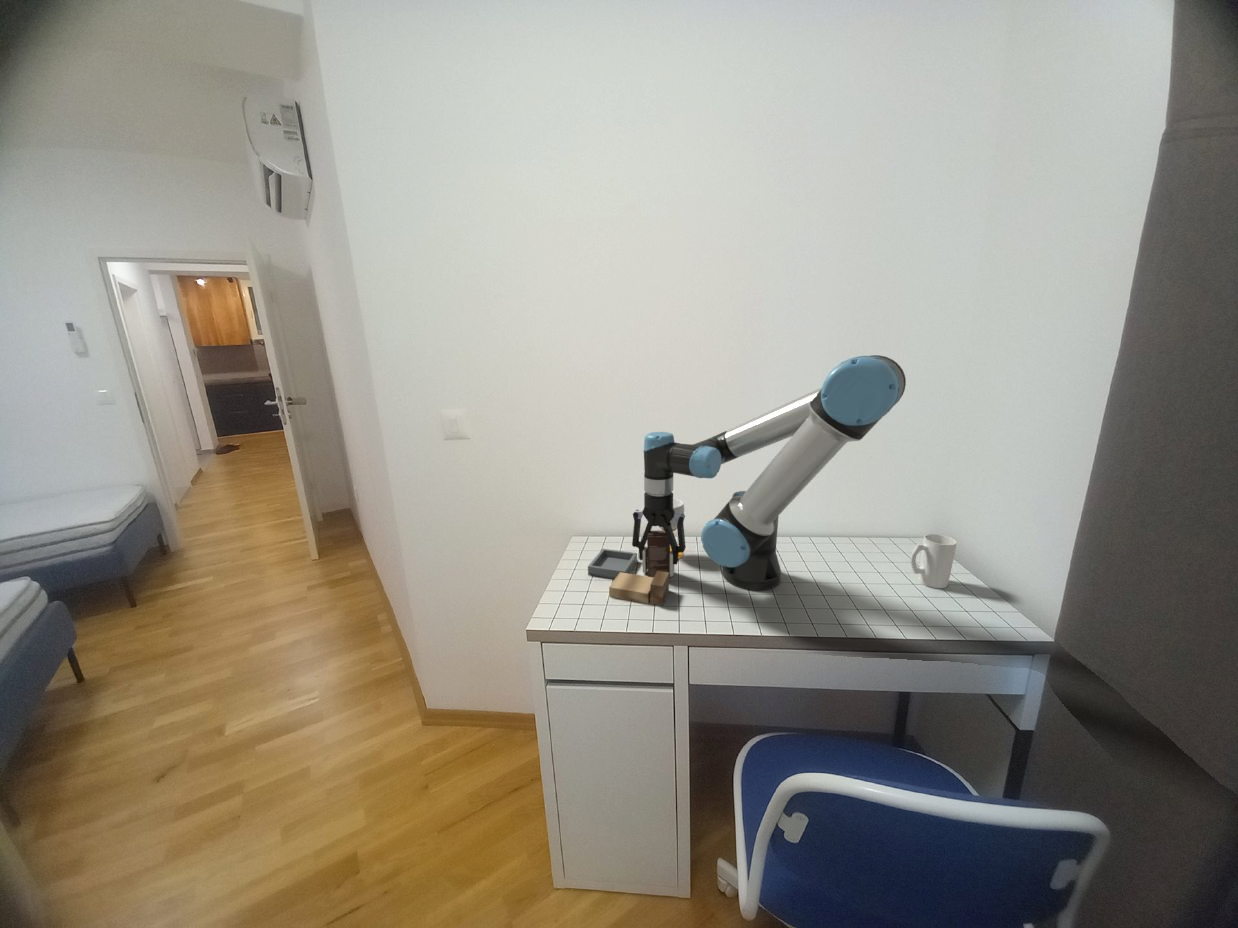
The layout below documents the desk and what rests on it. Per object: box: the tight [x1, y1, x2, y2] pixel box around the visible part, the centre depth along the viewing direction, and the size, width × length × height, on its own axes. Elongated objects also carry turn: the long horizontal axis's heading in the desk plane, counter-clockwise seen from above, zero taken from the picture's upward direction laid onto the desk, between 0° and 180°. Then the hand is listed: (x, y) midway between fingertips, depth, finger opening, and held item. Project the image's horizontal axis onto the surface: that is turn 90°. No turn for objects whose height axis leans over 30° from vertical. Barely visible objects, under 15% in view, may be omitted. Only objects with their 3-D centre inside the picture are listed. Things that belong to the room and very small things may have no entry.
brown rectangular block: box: [649, 571, 670, 606], centre depth 110 cm, size 3×7×5 cm, turn 162°
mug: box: [910, 533, 958, 589], centre depth 113 cm, size 10×7×12 cm, turn 91°
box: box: [646, 529, 671, 578], centre depth 120 cm, size 6×4×12 cm
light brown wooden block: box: [608, 572, 654, 604], centre depth 113 cm, size 10×8×3 cm
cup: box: [659, 498, 685, 560], centre depth 132 cm, size 9×9×16 cm
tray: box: [587, 548, 638, 580], centre depth 125 cm, size 11×12×2 cm
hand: (658, 572), depth 122 cm, fingers closed on box, 7 cm apart
